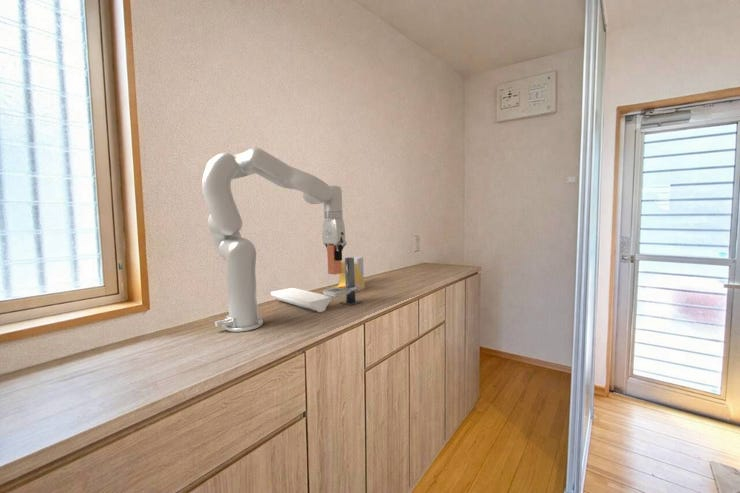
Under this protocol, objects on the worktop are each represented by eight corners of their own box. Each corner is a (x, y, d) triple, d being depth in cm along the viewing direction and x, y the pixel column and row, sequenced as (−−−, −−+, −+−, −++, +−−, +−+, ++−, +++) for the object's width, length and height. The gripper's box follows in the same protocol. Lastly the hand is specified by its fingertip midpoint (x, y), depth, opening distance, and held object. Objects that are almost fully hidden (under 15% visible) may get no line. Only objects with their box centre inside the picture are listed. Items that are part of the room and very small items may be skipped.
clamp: (344, 296, 161) (343, 263, 160) (328, 295, 166) (327, 262, 164) (365, 288, 179) (364, 258, 177) (350, 287, 183) (349, 257, 182)
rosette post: (335, 310, 138) (334, 261, 136) (323, 307, 143) (321, 260, 141) (365, 302, 150) (363, 257, 148) (352, 299, 155) (351, 256, 153)
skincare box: (354, 283, 192) (353, 256, 191) (364, 284, 190) (363, 256, 188) (347, 286, 184) (346, 258, 183) (358, 287, 182) (357, 258, 181)
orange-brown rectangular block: (334, 274, 139) (333, 245, 138) (328, 273, 142) (327, 245, 141) (341, 273, 142) (340, 244, 141) (335, 272, 144) (334, 244, 143)
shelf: (292, 298, 162) (292, 287, 161) (332, 309, 141) (332, 296, 140) (271, 303, 154) (270, 291, 153) (310, 315, 133) (309, 302, 132)
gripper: (313, 216, 143) (315, 259, 145) (339, 215, 131) (341, 262, 133) (327, 216, 148) (329, 257, 150) (353, 215, 137) (355, 260, 138)
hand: (335, 259), depth 141 cm, fingers closed on orange-brown rectangular block, 4 cm apart
